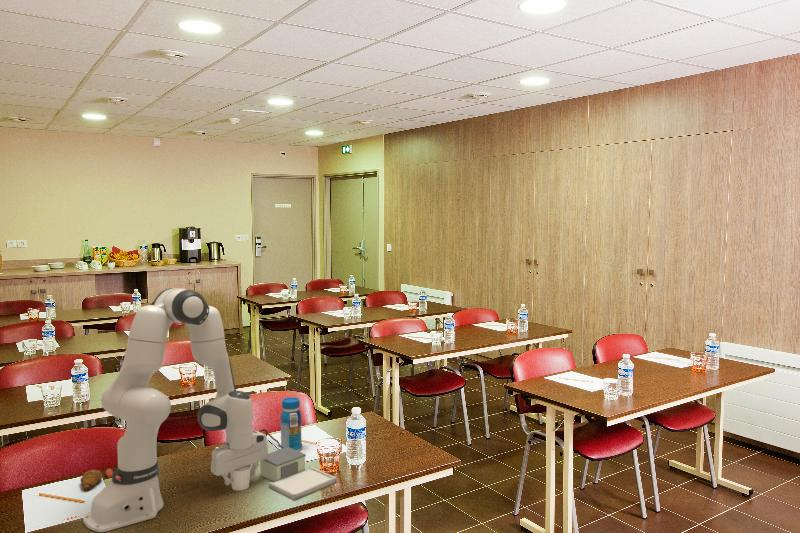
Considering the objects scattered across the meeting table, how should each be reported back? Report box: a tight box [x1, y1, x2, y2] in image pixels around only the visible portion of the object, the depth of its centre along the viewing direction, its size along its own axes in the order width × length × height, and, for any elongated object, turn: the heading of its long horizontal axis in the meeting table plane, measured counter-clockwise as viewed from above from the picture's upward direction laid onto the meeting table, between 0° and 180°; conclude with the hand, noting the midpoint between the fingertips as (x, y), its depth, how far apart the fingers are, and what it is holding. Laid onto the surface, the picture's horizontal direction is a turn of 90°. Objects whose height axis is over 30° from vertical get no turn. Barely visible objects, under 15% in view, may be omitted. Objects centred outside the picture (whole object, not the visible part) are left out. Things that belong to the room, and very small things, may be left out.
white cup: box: [229, 465, 252, 491], centre depth 201 cm, size 7×7×7 cm
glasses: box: [258, 429, 281, 448], centre depth 236 cm, size 13×13×5 cm
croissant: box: [80, 469, 103, 492], centre depth 203 cm, size 14×7×5 cm, turn 14°
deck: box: [259, 447, 337, 501], centre depth 206 cm, size 18×25×7 cm
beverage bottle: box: [279, 397, 303, 452], centre depth 233 cm, size 8×8×20 cm
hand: (240, 479), depth 201 cm, fingers open, 8 cm apart
